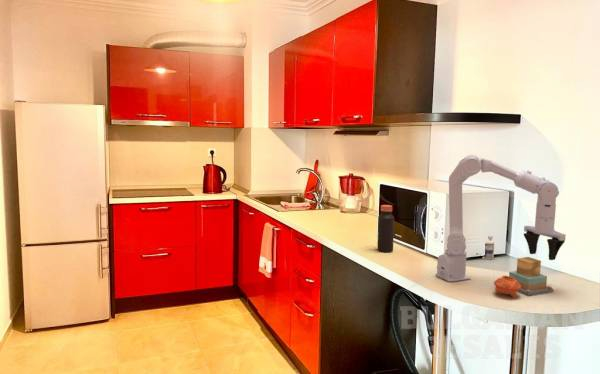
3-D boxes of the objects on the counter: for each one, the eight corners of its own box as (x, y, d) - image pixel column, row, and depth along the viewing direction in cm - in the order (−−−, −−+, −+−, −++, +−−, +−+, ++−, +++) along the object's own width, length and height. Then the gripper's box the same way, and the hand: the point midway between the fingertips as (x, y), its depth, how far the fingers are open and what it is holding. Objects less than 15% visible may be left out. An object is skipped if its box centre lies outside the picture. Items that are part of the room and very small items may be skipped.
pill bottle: (481, 255, 194) (483, 232, 193) (495, 257, 190) (496, 234, 189) (477, 258, 190) (479, 235, 188) (491, 260, 186) (492, 237, 185)
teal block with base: (528, 296, 146) (529, 281, 145) (501, 285, 156) (502, 271, 156) (553, 291, 150) (554, 277, 149) (525, 281, 160) (526, 267, 160)
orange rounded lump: (495, 287, 153) (502, 269, 151) (519, 298, 148) (526, 280, 146) (487, 293, 147) (494, 274, 145) (512, 304, 142) (519, 285, 140)
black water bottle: (380, 248, 204) (381, 204, 202) (395, 250, 201) (396, 205, 198) (374, 251, 199) (376, 206, 196) (389, 253, 195) (391, 207, 193)
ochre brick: (528, 277, 149) (529, 262, 149) (516, 272, 154) (517, 258, 153) (540, 275, 151) (541, 260, 150) (527, 271, 156) (528, 256, 155)
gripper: (573, 220, 147) (570, 261, 149) (535, 212, 160) (533, 250, 162) (557, 221, 145) (554, 263, 146) (520, 213, 158) (518, 252, 160)
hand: (542, 256), depth 154 cm, fingers open, 7 cm apart
